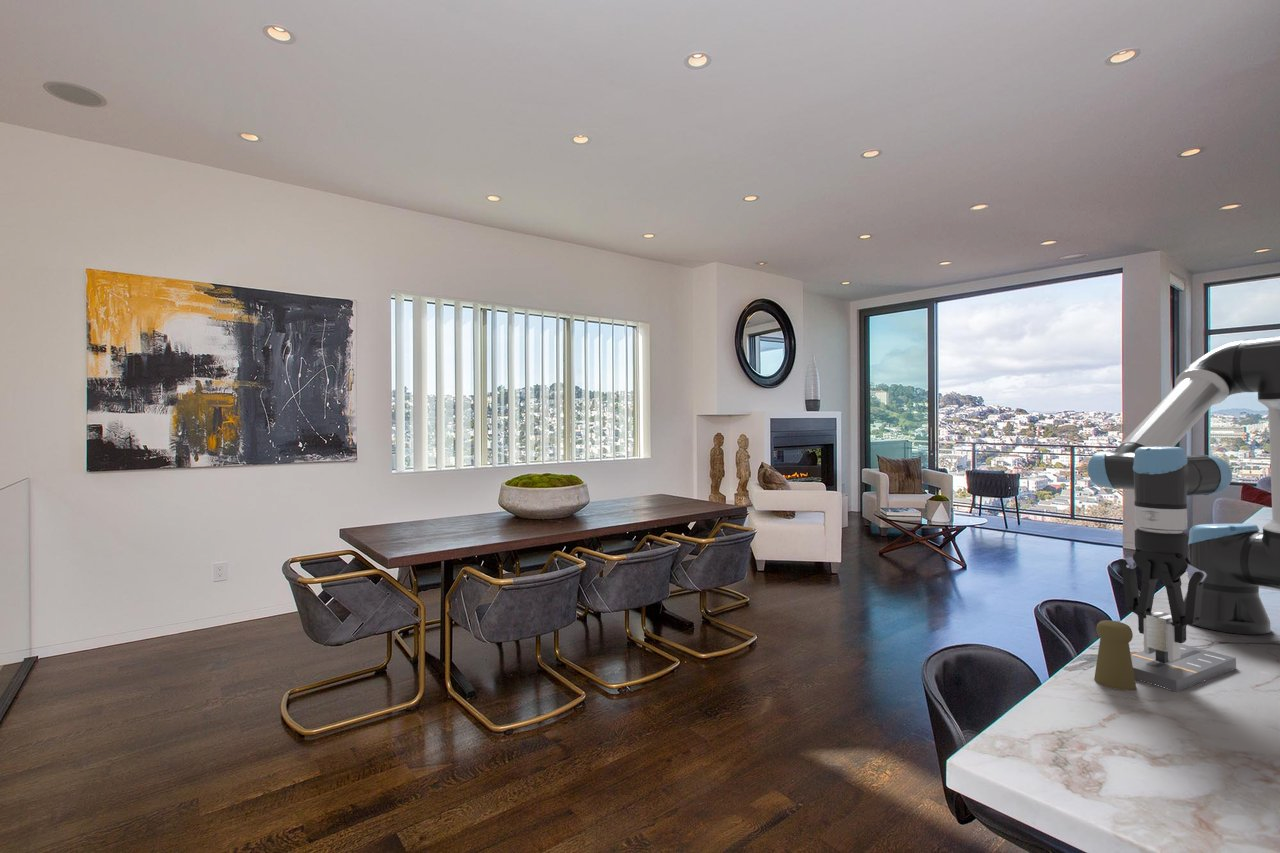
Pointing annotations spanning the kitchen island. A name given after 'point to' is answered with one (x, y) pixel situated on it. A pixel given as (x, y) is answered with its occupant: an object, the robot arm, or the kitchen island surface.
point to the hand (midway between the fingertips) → (1162, 655)
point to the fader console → (1181, 667)
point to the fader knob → (1158, 634)
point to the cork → (1114, 656)
